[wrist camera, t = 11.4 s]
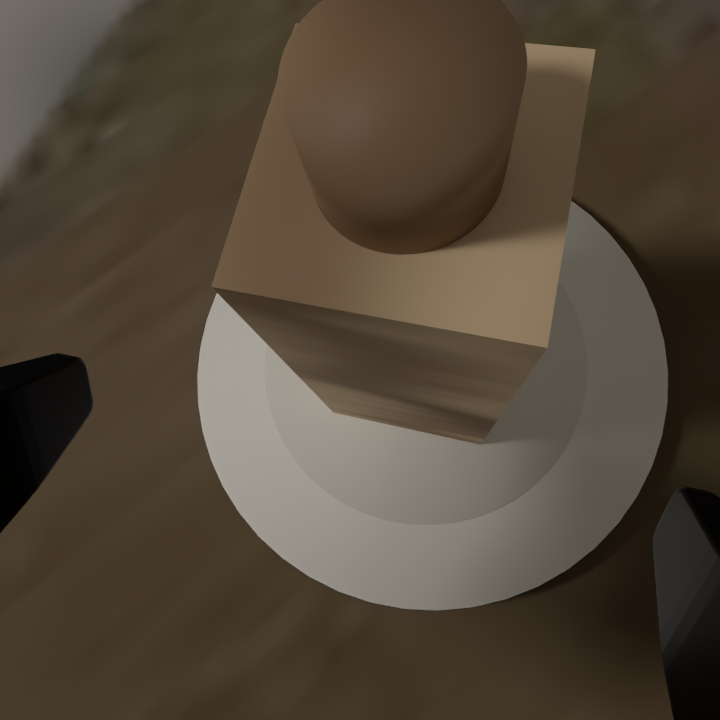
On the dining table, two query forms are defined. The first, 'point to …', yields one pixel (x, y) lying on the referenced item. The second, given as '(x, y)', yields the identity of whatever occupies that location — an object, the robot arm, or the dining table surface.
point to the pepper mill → (410, 209)
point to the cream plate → (450, 452)
